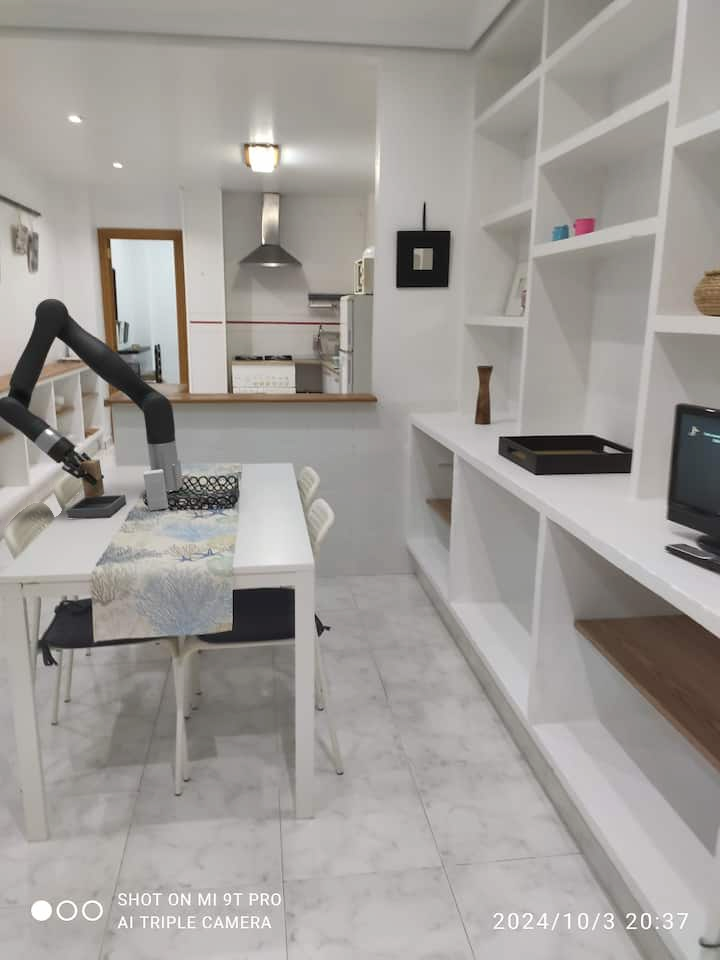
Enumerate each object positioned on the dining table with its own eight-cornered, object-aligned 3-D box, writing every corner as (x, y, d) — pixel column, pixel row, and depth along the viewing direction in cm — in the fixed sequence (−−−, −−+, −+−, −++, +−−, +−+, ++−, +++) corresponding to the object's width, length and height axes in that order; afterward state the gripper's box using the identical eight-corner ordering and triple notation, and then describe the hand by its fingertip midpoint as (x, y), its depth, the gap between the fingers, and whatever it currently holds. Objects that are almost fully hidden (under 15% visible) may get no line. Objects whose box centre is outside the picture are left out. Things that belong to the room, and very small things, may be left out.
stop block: (104, 493, 222) (99, 459, 219) (99, 497, 217) (93, 463, 215) (90, 493, 222) (85, 460, 219) (85, 497, 218) (79, 463, 215)
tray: (126, 503, 228) (125, 494, 227) (110, 517, 214) (108, 508, 213) (87, 505, 228) (85, 496, 227) (68, 519, 215) (66, 509, 214)
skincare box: (167, 504, 224) (163, 468, 221) (168, 508, 220) (163, 471, 217) (148, 507, 222) (143, 471, 219) (148, 511, 218) (143, 474, 215)
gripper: (51, 441, 208) (97, 478, 211) (72, 431, 222) (114, 467, 224) (36, 459, 210) (82, 496, 212) (58, 448, 223) (100, 483, 226)
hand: (98, 481), depth 218 cm, fingers closed on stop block, 4 cm apart
